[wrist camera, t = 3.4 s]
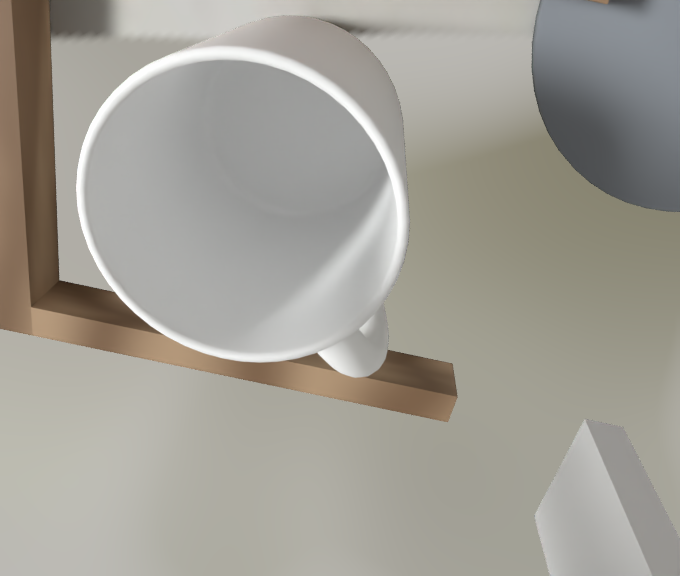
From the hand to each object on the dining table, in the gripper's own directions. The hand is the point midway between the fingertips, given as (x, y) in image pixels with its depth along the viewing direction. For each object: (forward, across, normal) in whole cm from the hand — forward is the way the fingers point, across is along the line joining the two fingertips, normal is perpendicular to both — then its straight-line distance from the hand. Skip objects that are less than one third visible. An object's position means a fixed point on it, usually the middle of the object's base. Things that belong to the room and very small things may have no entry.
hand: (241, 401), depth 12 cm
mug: (+15, 0, 0) cm, 15 cm away
